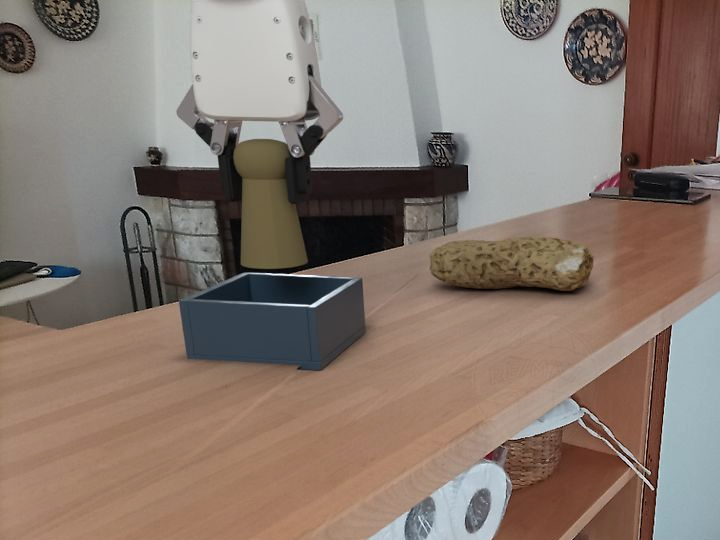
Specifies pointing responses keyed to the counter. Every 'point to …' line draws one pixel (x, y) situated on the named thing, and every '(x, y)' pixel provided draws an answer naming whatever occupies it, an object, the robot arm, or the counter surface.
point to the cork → (267, 207)
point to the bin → (274, 319)
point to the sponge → (513, 263)
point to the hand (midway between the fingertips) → (268, 199)
